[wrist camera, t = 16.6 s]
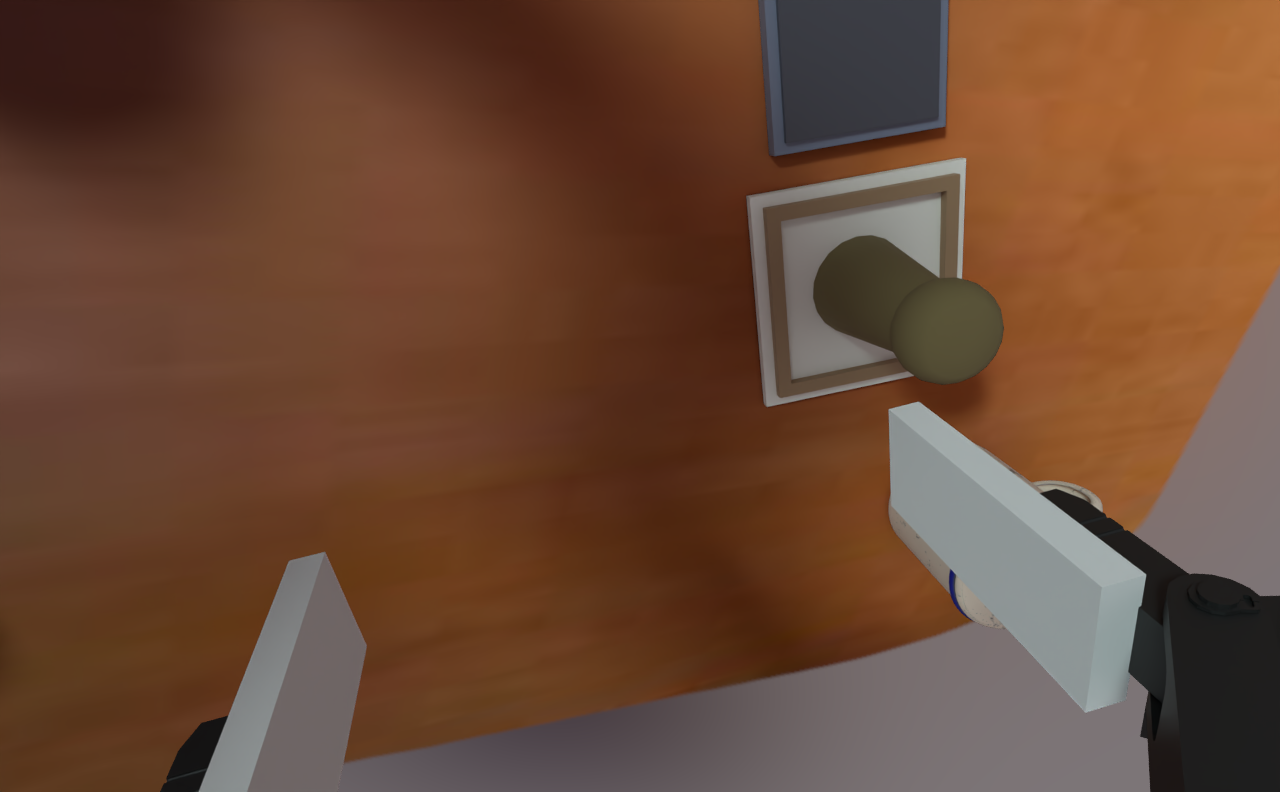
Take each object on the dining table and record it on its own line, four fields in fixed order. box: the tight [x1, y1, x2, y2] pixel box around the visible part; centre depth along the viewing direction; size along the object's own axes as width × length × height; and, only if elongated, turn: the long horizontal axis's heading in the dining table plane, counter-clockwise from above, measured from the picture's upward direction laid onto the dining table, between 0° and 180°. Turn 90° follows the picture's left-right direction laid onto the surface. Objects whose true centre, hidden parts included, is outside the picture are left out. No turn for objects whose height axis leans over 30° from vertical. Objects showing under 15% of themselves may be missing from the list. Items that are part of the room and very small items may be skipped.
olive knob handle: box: [813, 235, 1004, 385], centre depth 39 cm, size 6×6×11 cm
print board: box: [746, 158, 966, 407], centre depth 44 cm, size 13×13×1 cm
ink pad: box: [758, 0, 948, 156], centre depth 39 cm, size 10×10×1 cm
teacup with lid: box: [888, 445, 1103, 629], centre depth 47 cm, size 12×9×12 cm
